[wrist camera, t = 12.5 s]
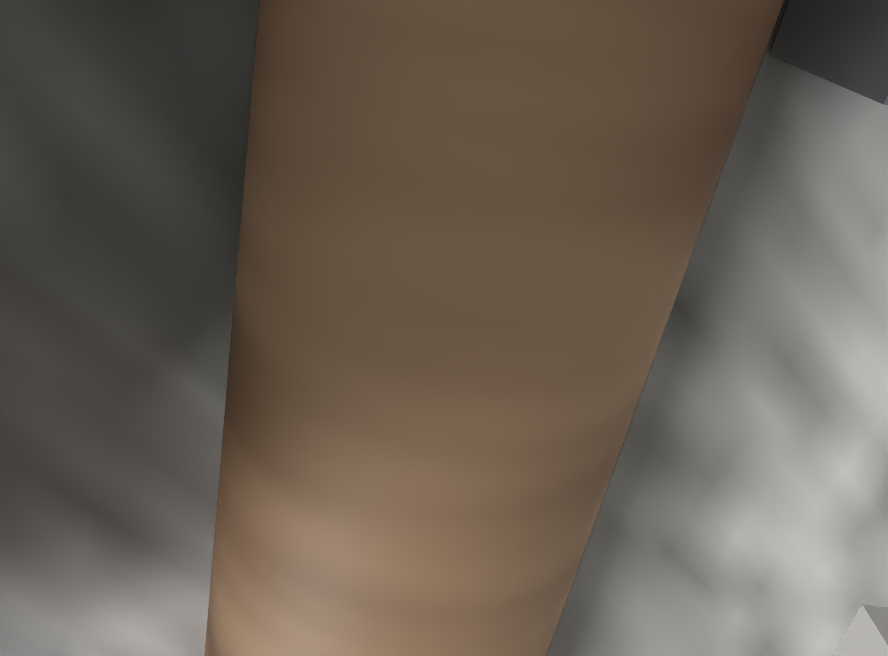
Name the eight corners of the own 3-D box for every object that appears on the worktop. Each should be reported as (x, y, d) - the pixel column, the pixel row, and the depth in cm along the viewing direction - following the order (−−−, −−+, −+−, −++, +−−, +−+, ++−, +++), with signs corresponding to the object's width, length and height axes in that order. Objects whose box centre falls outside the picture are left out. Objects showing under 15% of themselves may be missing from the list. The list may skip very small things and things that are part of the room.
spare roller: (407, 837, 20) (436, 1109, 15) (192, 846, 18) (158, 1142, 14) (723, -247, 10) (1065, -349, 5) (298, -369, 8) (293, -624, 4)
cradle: (-40, -439, 8) (-259, -602, 6) (1098, -154, 10) (1354, -175, 7) (37, 831, 18) (-29, 990, 16) (592, 881, 20) (619, 1035, 17)
